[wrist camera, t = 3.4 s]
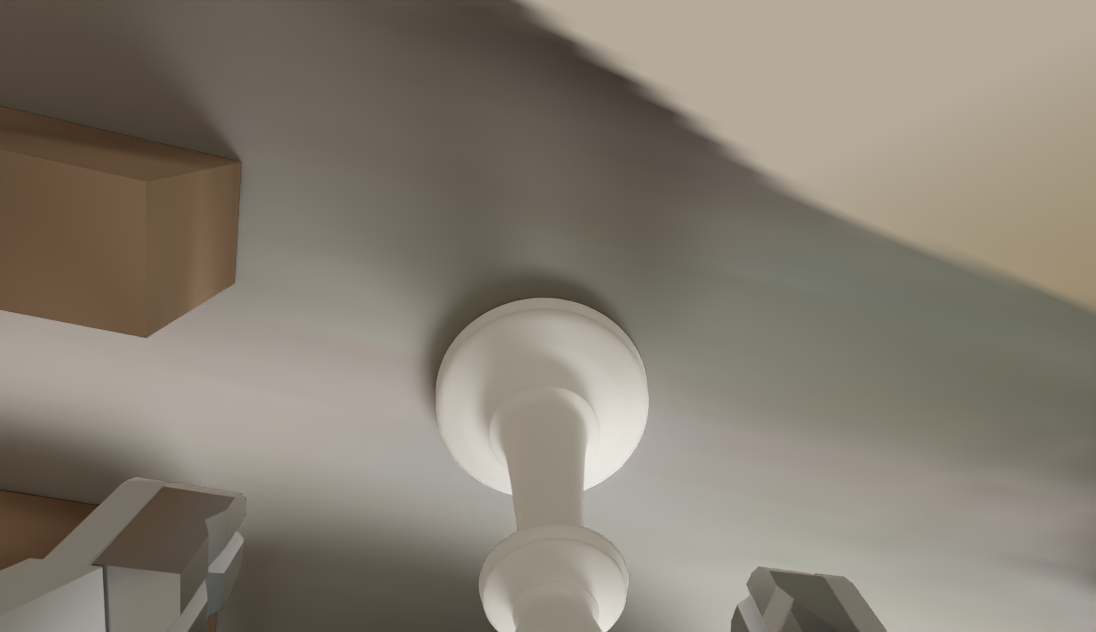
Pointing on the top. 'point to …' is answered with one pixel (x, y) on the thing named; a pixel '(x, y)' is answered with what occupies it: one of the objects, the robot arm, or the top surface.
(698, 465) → the top surface
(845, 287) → the top surface
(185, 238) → the notch board
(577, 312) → the chess piece
